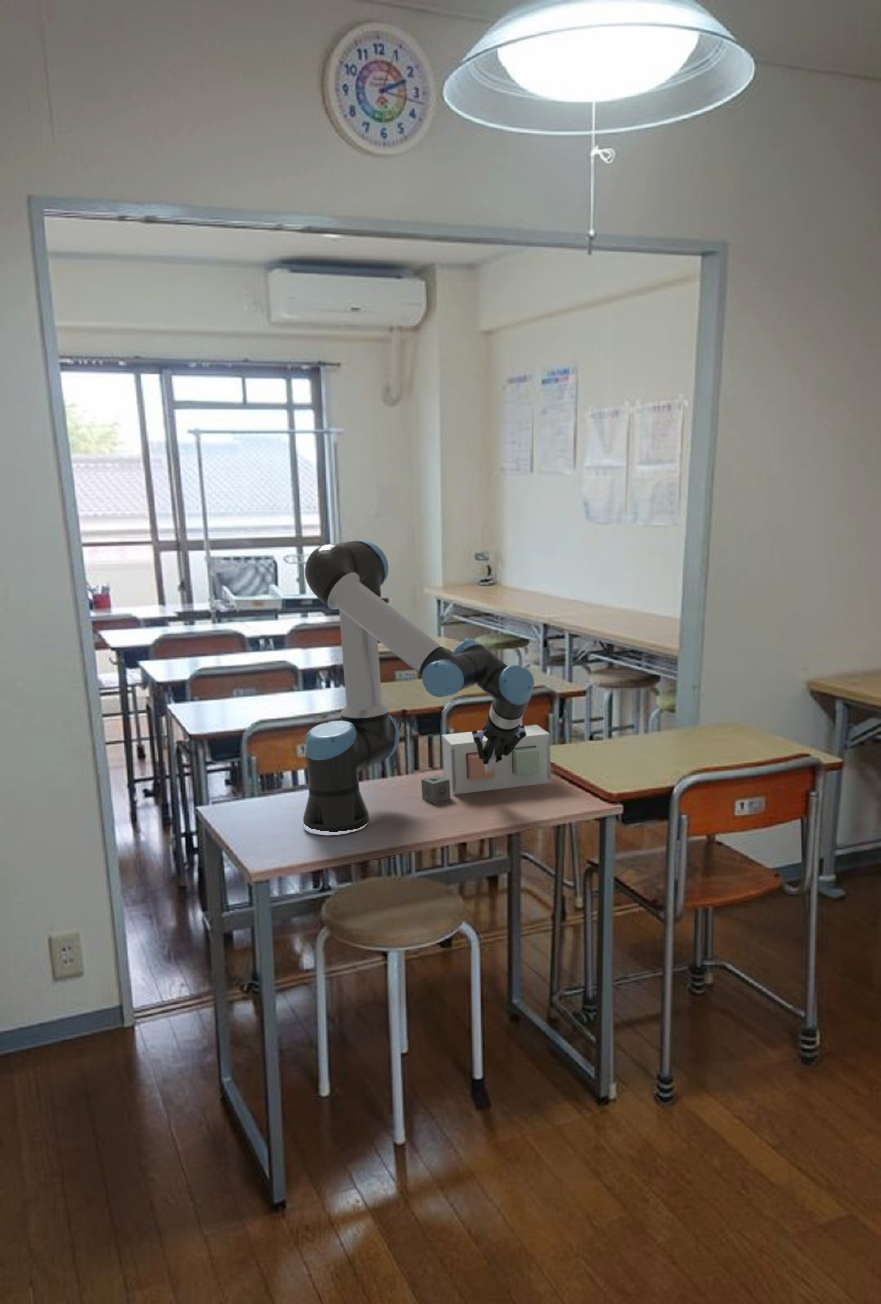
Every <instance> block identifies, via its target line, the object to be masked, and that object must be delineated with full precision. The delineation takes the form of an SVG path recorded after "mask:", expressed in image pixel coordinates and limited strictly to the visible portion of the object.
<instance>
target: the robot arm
mask: <svg viewBox="0 0 881 1304" xmlns="http://www.w3.org/2000/svg"><path fill="white" fill-rule="evenodd" d="M304 566H305V567H304V577H305V581H306V583H307V586H308V587H309V589H310V591H311V592H312V593H313V594H314V595H315V597H317V598H318V599H319V600H320V601H321V602H322V603H323V604H324V605H326V606H327V607H328V608H329V609H331V610H337V609H338V610H339V622H340V623H339V624H340V636H341V651H342V664H343V665H342V666H343V677H344V678H343V679H344V680H343V681H344V690H345V691H344V692H345V703H346V704H345V706H344V707H343V709H342V710H341V712H340V720H332V721H328V722H323V723H320V724H318V725H316V726H313V727H312V728H311V729H309V730H308V732H307V733H306V735H305V747H304V752H305V761H306V774H307V784H308V797H307V801H306V806H305V809H304V812H303V813H304V814H303V818H302V822H304V823H303V825H304V824H305V825H306V826H308V827H309V828H311V829H316V830H320V831H329V832H338V831H347V830H353V829H358V828H360V827H362V826H364V825H365V824H367V823H368V821H369V822H370V817H369V816H370V815H369V811H368V808H367V806H366V804H365V803H366V802H365V801H364V799H363V798H364V797H363V795H362V794H361V791H360V790H361V789H360V780H359V779H360V778H359V777H360V775H359V773H360V772H362V771H364V770H366V769H368V768H371V767H373V766H375V765H377V764H380V763H383V762H384V761H386V760H387V759H388V758H390V757H391V756H393V754H394V753H395V751H396V750H397V749H398V746H399V744H400V743H399V742H400V730H399V729H400V728H399V726H398V724H397V722H395V721H394V718H393V717H392V716H391V715H390V711H389V710H390V709H389V707H387V706H386V705H385V704H384V703H383V700H382V686H381V685H382V684H381V670H380V656H379V653H380V652H379V643H380V644H382V646H384V647H386V648H387V649H388V650H389V651H390V652H391V653H393V654H394V655H395V656H397V657H398V658H399V659H401V660H402V661H403V662H404V663H405V664H406V665H407V666H409V667H410V668H412V669H413V670H414V671H415V672H416V673H418V674H419V675H420V676H421V679H422V684H423V686H424V688H425V690H426V692H428V693H429V694H430V695H431V696H434V697H436V698H444V697H449V696H453V695H455V694H457V693H458V692H461V691H463V690H466V689H467V688H470V687H473V686H477V687H478V688H479V689H481V690H482V691H483V692H485V693H486V694H487V695H489V696H490V698H492V702H491V705H490V708H489V711H488V713H487V714H488V715H487V717H486V722H485V725H484V726H483V727H482V730H480V731H481V732H477V731H478V730H472V731H471V732H472V735H473V739H474V742H475V743H476V745H477V751H478V755H479V758H480V759H482V760H483V764H484V767H485V771H486V773H489V772H492V770H493V767H494V764H495V763H497V762H498V761H500V760H502V757H501V756H502V755H505V756H508V755H509V754H510V753H511V751H512V750H513V749H514V747H515V746H516V745H517V744H518V742H519V741H520V740H521V739H522V738H524V737H525V736H526V731H525V728H524V726H525V725H523V724H522V725H521V726H520V724H521V720H522V721H523V718H524V715H525V713H526V709H527V707H528V705H529V702H530V700H531V699H532V695H533V691H534V686H535V679H534V676H533V673H532V672H531V671H530V670H529V669H527V668H526V667H524V666H520V665H517V664H514V665H513V664H512V665H507V664H506V663H504V661H502V660H501V659H499V657H498V656H497V655H496V654H494V653H493V652H492V651H490V650H489V649H488V648H487V647H486V646H485V645H483V644H482V643H479V642H478V641H477V640H476V639H473V638H468V637H467V638H465V639H464V640H463V641H462V642H460V643H459V644H458V645H457V646H456V647H455V648H454V650H453V652H452V653H451V652H449V651H448V650H447V649H446V648H444V647H443V646H442V645H440V644H439V643H438V642H436V641H435V640H434V639H433V638H431V637H430V636H429V635H427V634H426V633H425V632H424V631H423V630H422V629H420V628H419V627H418V626H416V625H415V624H414V623H412V622H411V621H410V620H409V619H407V618H406V616H404V615H402V614H401V613H400V612H398V610H396V609H395V608H393V607H392V606H391V605H390V604H389V603H387V602H386V601H385V600H383V599H382V591H381V586H383V584H384V583H385V581H386V580H387V579H388V576H389V563H388V559H387V557H386V555H385V552H384V551H383V550H382V548H381V549H380V547H379V546H378V545H377V544H375V543H374V542H371V541H367V540H356V539H355V540H351V541H343V542H338V543H337V542H336V543H327V544H323V545H320V546H318V547H317V548H315V549H314V550H313V551H312V552H311V553H310V554H309V556H308V558H307V560H306V563H305V565H304ZM484 736H485V737H486V738H487V742H486V745H485V747H483V745H482V741H483V740H482V739H483V737H484ZM483 749H484V750H483ZM494 750H495V751H494Z"/></svg>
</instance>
